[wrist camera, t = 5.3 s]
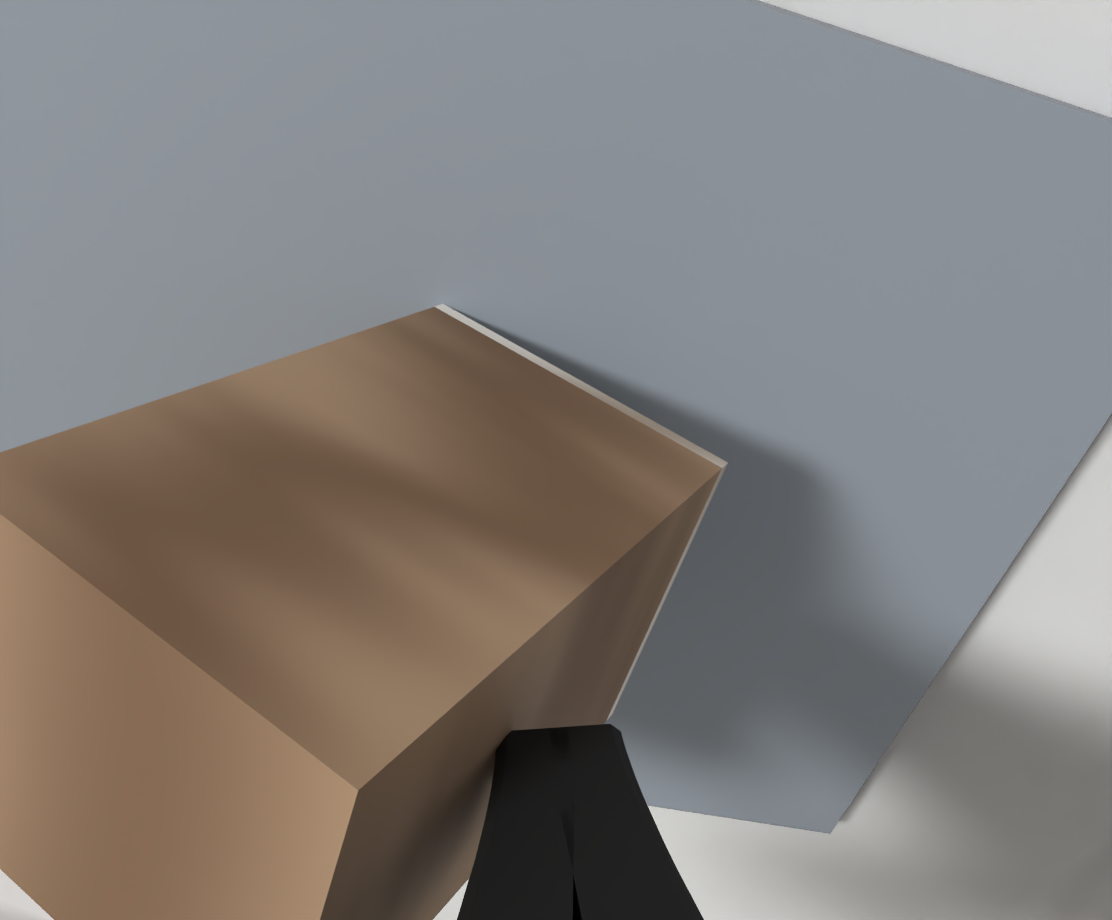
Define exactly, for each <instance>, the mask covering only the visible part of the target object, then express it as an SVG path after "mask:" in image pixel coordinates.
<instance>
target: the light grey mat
mask: <svg viewBox="0 0 1112 920" xmlns="http://www.w3.org/2000/svg"><path fill="white" fill-rule="evenodd" d="M441 304H444V305H446V306H448V307H450V308H452V309H453V310H455V311H457V312H459V313H460V314H462V315H464V316H466V317H468V318H469V319H471V320H473V321H475V322H477V323H478V324H480V325H482V326H484V327H486V328H487V329H489V330H491V331H493V332H495V333H496V334H498V335H500V336H502V337H504V338H505V339H507V340H509V341H511V342H512V343H514V344H516V345H518V346H520V347H521V348H523V349H525V350H527V351H529V352H530V353H532V354H534V355H536V356H538V357H539V358H541V359H543V360H545V361H547V362H548V363H550V364H552V365H554V366H556V367H557V368H559V369H561V370H563V371H565V372H566V373H568V374H570V375H572V376H573V377H575V378H577V379H579V380H581V381H582V382H584V383H586V384H588V385H590V386H591V387H593V388H595V389H597V390H599V391H600V392H602V393H604V394H606V395H608V396H609V397H611V398H613V399H615V400H617V401H618V402H620V403H622V404H624V405H625V406H627V407H629V408H631V409H633V410H634V411H636V412H638V413H640V414H642V415H643V416H645V417H647V418H649V419H651V420H652V421H654V422H656V423H658V424H660V425H661V426H663V427H665V428H667V429H669V430H670V431H672V432H674V433H676V434H678V435H679V436H681V437H683V438H685V439H686V440H688V441H690V442H692V443H694V444H695V445H697V446H699V447H701V448H703V449H704V450H706V451H708V452H710V453H712V454H713V455H715V456H717V457H719V458H721V459H722V460H724V461H726V462H728V464H727V466H726V468H725V471H724V473H723V475H722V477H721V479H720V481H719V484H718V486H717V488H716V490H715V492H714V494H713V497H712V499H711V501H710V503H709V505H708V508H707V510H706V512H705V514H704V516H703V518H702V521H701V523H700V525H699V527H698V529H697V531H696V534H695V536H694V538H693V540H692V542H691V544H690V547H689V549H688V551H687V553H686V555H685V557H684V560H683V562H682V564H681V566H680V568H679V571H678V573H677V575H676V577H675V579H674V581H673V584H672V586H671V588H670V590H669V592H668V594H667V597H666V599H665V601H664V603H663V605H662V607H661V610H660V612H659V614H658V616H657V618H656V621H655V623H654V625H653V627H652V629H651V631H650V634H649V636H648V638H647V640H646V642H645V644H644V647H643V649H642V651H641V653H640V655H639V657H638V660H637V662H636V664H635V666H634V668H633V670H632V673H631V675H630V677H629V679H628V681H627V684H626V686H625V688H624V690H623V692H622V694H621V697H620V699H619V701H618V703H617V705H616V707H615V710H614V712H613V714H612V715H611V716H610V717H609V719H608V720H607V721H606V722H605V723H604V724H611V725H613V726H614V727H616V728H617V729H618V730H620V731H621V733H622V737H623V741H624V744H625V748H626V751H627V754H628V757H629V760H630V763H631V765H632V768H633V771H634V774H635V776H636V779H637V781H638V784H639V787H640V789H641V792H642V794H643V796H644V799H645V801H646V804H647V805H648V806H654V807H661V808H667V809H674V810H680V811H687V812H693V813H700V814H706V815H713V816H719V817H726V818H732V819H739V820H745V821H752V822H758V823H765V824H771V825H778V826H784V827H791V828H797V829H804V830H810V831H817V832H823V833H831V832H832V830H833V829H834V827H835V826H836V824H837V823H838V821H839V820H840V818H841V817H842V815H843V814H844V812H845V811H846V809H847V808H848V806H849V805H850V803H851V802H852V800H853V799H854V797H855V796H856V794H857V793H858V791H859V790H860V788H861V787H862V785H863V784H864V782H865V781H866V779H867V778H868V776H869V775H870V773H871V772H872V770H873V769H874V767H875V766H876V764H877V763H878V761H879V760H880V758H881V757H882V756H883V754H884V753H885V751H886V750H887V748H888V747H889V745H890V744H891V742H892V741H893V739H894V738H895V736H896V735H897V733H898V732H899V730H900V729H901V727H902V726H903V724H904V723H905V721H906V720H907V718H908V717H909V715H910V714H911V712H912V711H913V709H914V708H915V706H916V705H917V703H918V702H919V700H920V699H921V697H922V696H923V694H924V693H925V691H926V690H927V688H928V687H929V685H930V684H931V682H932V681H933V679H934V678H935V676H936V675H937V673H938V672H939V670H940V669H941V667H942V666H943V664H944V663H945V661H946V660H947V658H948V657H949V655H950V654H951V653H952V651H953V650H954V648H955V647H956V645H957V644H958V642H959V641H960V639H961V638H962V636H963V635H964V633H965V632H966V630H967V629H968V627H969V626H970V624H971V623H972V621H973V620H974V618H975V617H976V615H977V614H978V612H979V611H980V609H981V608H982V606H983V605H984V603H985V602H986V600H987V599H988V597H989V596H990V594H991V593H992V591H993V590H994V588H995V587H996V585H997V584H998V582H999V581H1000V579H1001V578H1002V576H1003V575H1004V573H1005V572H1006V570H1007V569H1008V567H1009V566H1010V564H1011V563H1012V561H1013V560H1014V558H1015V557H1016V555H1017V554H1018V552H1019V551H1020V549H1021V548H1022V547H1023V545H1024V544H1025V542H1026V541H1027V539H1028V538H1029V536H1030V535H1031V533H1032V532H1033V530H1034V529H1035V527H1036V526H1037V524H1038V523H1039V521H1040V520H1041V518H1042V517H1043V515H1044V514H1045V512H1046V511H1047V509H1048V508H1049V506H1050V505H1051V503H1052V502H1053V500H1054V499H1055V497H1056V496H1057V494H1058V493H1059V491H1060V490H1061V488H1062V487H1063V485H1064V484H1065V482H1066V481H1067V479H1068V478H1069V476H1070V475H1071V473H1072V472H1073V470H1074V469H1075V467H1076V466H1077V464H1078V463H1079V461H1080V460H1081V458H1082V457H1083V455H1084V454H1085V452H1086V451H1087V449H1088V448H1089V446H1090V445H1091V444H1092V442H1093V441H1094V439H1095V438H1096V436H1097V435H1098V433H1099V432H1100V430H1101V429H1102V427H1103V426H1104V424H1105V423H1106V421H1107V420H1108V418H1109V417H1110V415H1111V414H1112V118H1110V117H1107V116H1104V115H1101V114H1098V113H1095V112H1092V111H1089V110H1086V109H1083V108H1080V107H1077V106H1074V105H1071V104H1068V103H1065V102H1062V101H1059V100H1056V99H1053V98H1050V97H1047V96H1044V95H1041V94H1038V93H1035V92H1032V91H1029V90H1026V89H1023V88H1020V87H1017V86H1014V85H1011V84H1008V83H1005V82H1002V81H999V80H996V79H993V78H990V77H987V76H984V75H981V74H978V73H975V72H972V71H969V70H966V69H963V68H960V67H957V66H954V65H951V64H948V63H944V62H941V61H938V60H935V59H932V58H929V57H926V56H923V55H920V54H917V53H914V52H911V51H908V50H905V49H902V48H899V47H896V46H893V45H890V44H887V43H884V42H881V41H878V40H875V39H872V38H869V37H866V36H863V35H860V34H857V33H854V32H851V31H848V30H845V29H842V28H839V27H836V26H833V25H830V24H827V23H824V22H821V21H818V20H815V19H812V18H809V17H806V16H803V15H800V14H797V13H794V12H791V11H788V10H785V9H782V8H779V7H776V6H773V5H770V4H767V3H764V2H761V1H758V0H0V452H3V451H6V450H9V449H12V448H15V447H18V446H21V445H24V444H27V443H30V442H33V441H36V440H39V439H42V438H45V437H48V436H51V435H54V434H57V433H60V432H63V431H66V430H68V429H71V428H74V427H77V426H80V425H83V424H86V423H89V422H92V421H95V420H98V419H101V418H104V417H107V416H110V415H113V414H116V413H119V412H122V411H125V410H128V409H131V408H134V407H137V406H140V405H143V404H146V403H149V402H152V401H155V400H158V399H161V398H164V397H167V396H170V395H173V394H176V393H179V392H182V391H185V390H188V389H191V388H194V387H197V386H200V385H203V384H206V383H209V382H212V381H214V380H217V379H220V378H223V377H226V376H229V375H232V374H235V373H238V372H241V371H244V370H247V369H250V368H253V367H256V366H259V365H262V364H265V363H268V362H271V361H274V360H277V359H280V358H283V357H286V356H289V355H292V354H295V353H298V352H301V351H304V350H307V349H310V348H313V347H316V346H319V345H322V344H325V343H328V342H331V341H334V340H337V339H340V338H343V337H346V336H349V335H352V334H355V333H358V332H361V331H363V330H366V329H369V328H372V327H375V326H378V325H381V324H384V323H387V322H390V321H393V320H396V319H399V318H402V317H405V316H408V315H411V314H414V313H417V312H420V311H423V310H426V309H429V308H432V307H435V306H438V305H441Z"/></svg>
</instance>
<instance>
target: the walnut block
mask: <svg viewBox="0 0 1112 920" xmlns="http://www.w3.org/2000/svg"><path fill="white" fill-rule="evenodd" d="M727 464H728V462H726V461H724V460H722V459H721V458H719V457H717V456H715V455H713V454H712V453H710V452H708V451H706V450H704V449H703V448H701V447H699V446H697V445H695V444H694V443H692V442H690V441H688V440H686V439H685V438H683V437H681V436H679V435H678V434H676V433H674V432H672V431H670V430H669V429H667V428H665V427H663V426H661V425H660V424H658V423H656V422H654V421H652V420H651V419H649V418H647V417H645V416H643V415H642V414H640V413H638V412H636V411H634V410H633V409H631V408H629V407H627V406H625V405H624V404H622V403H620V402H618V401H617V400H615V399H613V398H611V397H609V396H608V395H606V394H604V393H602V392H600V391H599V390H597V389H595V388H593V387H591V386H590V385H588V384H586V383H584V382H582V381H581V380H579V379H577V378H575V377H573V376H572V375H570V374H568V373H566V372H565V371H563V370H561V369H559V368H557V367H556V366H554V365H552V364H550V363H548V362H547V361H545V360H543V359H541V358H539V357H538V356H536V355H534V354H532V353H530V352H529V351H527V350H525V349H523V348H521V347H520V346H518V345H516V344H514V343H512V342H511V341H509V340H507V339H505V338H504V337H502V336H500V335H498V334H496V333H495V332H493V331H491V330H489V329H487V328H486V327H484V326H482V325H480V324H478V323H477V322H475V321H473V320H471V319H469V318H468V317H466V316H464V315H462V314H460V313H459V312H457V311H455V310H453V309H452V308H450V307H448V306H446V305H444V304H441V305H438V306H435V307H432V308H429V309H426V310H423V311H420V312H417V313H414V314H411V315H408V316H405V317H402V318H399V319H396V320H393V321H390V322H387V323H384V324H381V325H378V326H375V327H372V328H369V329H366V330H363V331H361V332H358V333H355V334H352V335H349V336H346V337H343V338H340V339H337V340H334V341H331V342H328V343H325V344H322V345H319V346H316V347H313V348H310V349H307V350H304V351H301V352H298V353H295V354H292V355H289V356H286V357H283V358H280V359H277V360H274V361H271V362H268V363H265V364H262V365H259V366H256V367H253V368H250V369H247V370H244V371H241V372H238V373H235V374H232V375H229V376H226V377H223V378H220V379H217V380H214V381H212V382H209V383H206V384H203V385H200V386H197V387H194V388H191V389H188V390H185V391H182V392H179V393H176V394H173V395H170V396H167V397H164V398H161V399H158V400H155V401H152V402H149V403H146V404H143V405H140V406H137V407H134V408H131V409H128V410H125V411H122V412H119V413H116V414H113V415H110V416H107V417H104V418H101V419H98V420H95V421H92V422H89V423H86V424H83V425H80V426H77V427H74V428H71V429H68V430H66V431H63V432H60V433H57V434H54V435H51V436H48V437H45V438H42V439H39V440H36V441H33V442H30V443H27V444H24V445H21V446H18V447H15V448H12V449H9V450H6V451H3V452H0V869H1V870H2V871H3V872H4V873H5V874H6V875H7V876H8V877H9V878H10V879H12V880H13V881H14V882H15V883H16V884H17V885H18V886H19V887H20V888H21V889H22V890H23V891H24V892H25V893H26V894H27V895H29V896H30V897H31V898H32V899H33V900H34V901H35V902H36V903H37V904H38V905H39V906H40V907H41V908H42V909H43V910H45V911H46V912H47V913H48V914H49V915H50V916H51V917H52V918H53V919H54V920H433V919H434V918H435V916H436V915H437V914H438V913H439V912H440V911H441V910H442V908H443V907H444V906H445V905H446V904H447V903H448V902H449V900H450V899H451V898H452V897H453V896H454V895H455V894H456V892H457V891H458V890H459V889H460V888H461V887H462V886H463V884H464V883H465V882H466V881H467V880H468V879H469V878H470V875H471V871H472V868H473V865H474V861H475V858H476V854H477V850H478V845H479V841H480V837H481V833H482V829H483V825H484V821H485V816H486V812H487V807H488V802H489V797H490V791H491V786H492V779H493V772H494V765H495V754H496V749H497V748H498V747H499V745H500V744H501V743H502V741H503V740H504V738H505V737H506V736H507V734H509V733H510V732H511V731H512V730H527V729H541V728H556V727H570V726H585V725H599V724H604V723H605V722H606V721H607V720H608V719H609V717H610V716H611V715H612V714H613V712H614V710H615V707H616V705H617V703H618V701H619V699H620V697H621V694H622V692H623V690H624V688H625V686H626V684H627V681H628V679H629V677H630V675H631V673H632V670H633V668H634V666H635V664H636V662H637V660H638V657H639V655H640V653H641V651H642V649H643V647H644V644H645V642H646V640H647V638H648V636H649V634H650V631H651V629H652V627H653V625H654V623H655V621H656V618H657V616H658V614H659V612H660V610H661V607H662V605H663V603H664V601H665V599H666V597H667V594H668V592H669V590H670V588H671V586H672V584H673V581H674V579H675V577H676V575H677V573H678V571H679V568H680V566H681V564H682V562H683V560H684V557H685V555H686V553H687V551H688V549H689V547H690V544H691V542H692V540H693V538H694V536H695V534H696V531H697V529H698V527H699V525H700V523H701V521H702V518H703V516H704V514H705V512H706V510H707V508H708V505H709V503H710V501H711V499H712V497H713V494H714V492H715V490H716V488H717V486H718V484H719V481H720V479H721V477H722V475H723V473H724V471H725V468H726V466H727Z"/></svg>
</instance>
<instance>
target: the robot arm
mask: <svg viewBox="0 0 1112 920" xmlns="http://www.w3.org/2000/svg"><path fill="white" fill-rule="evenodd" d="M457 920H704V919H703V917H702V915H701V913H700V912H699V910H698V908H697V906H696V904H695V902H694V900H693V898H692V896H691V895H690V893H689V891H688V889H687V887H686V885H685V883H684V881H683V879H682V878H681V876H680V874H679V872H678V870H677V868H676V866H675V864H674V862H673V860H672V858H671V856H670V854H669V852H668V850H667V848H666V846H665V843H664V841H663V839H662V837H661V835H660V833H659V830H658V828H657V826H656V824H655V822H654V819H653V817H652V815H651V813H650V810H649V808H648V806H647V804H646V801H645V799H644V796H643V794H642V792H641V789H640V787H639V784H638V781H637V779H636V776H635V774H634V771H633V768H632V765H631V763H630V760H629V757H628V754H627V751H626V748H625V744H624V741H623V737H622V733H621V731H620V730H618V729H617V728H616V727H614V726H613V725H611V724H599V725H585V726H570V727H556V728H541V729H527V730H512V731H511V732H510V733H509V734H507V736H506V737H505V738H504V740H503V741H502V743H501V744H500V745H499V747H498V748H497V749H496V754H495V765H494V772H493V779H492V786H491V791H490V797H489V802H488V807H487V812H486V816H485V821H484V825H483V829H482V833H481V837H480V841H479V845H478V850H477V854H476V858H475V861H474V865H473V868H472V871H471V875H470V878H469V881H468V885H467V888H466V891H465V895H464V898H463V902H462V905H461V908H460V912H459V915H458V918H457Z"/></svg>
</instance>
